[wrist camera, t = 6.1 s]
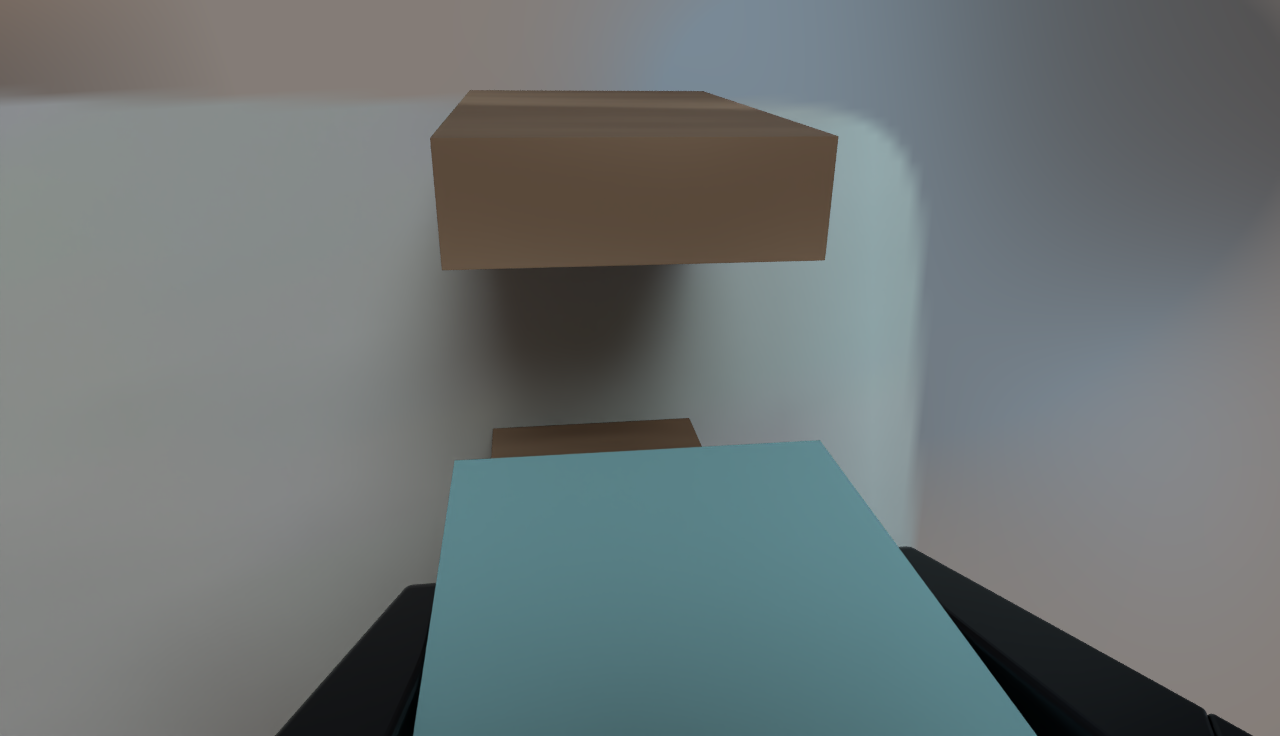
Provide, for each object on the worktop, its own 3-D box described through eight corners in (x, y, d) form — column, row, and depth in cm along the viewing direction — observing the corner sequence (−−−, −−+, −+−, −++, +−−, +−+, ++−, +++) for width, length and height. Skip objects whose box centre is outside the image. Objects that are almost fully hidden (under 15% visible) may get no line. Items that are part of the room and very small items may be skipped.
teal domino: (808, 535, 12) (1296, 1387, 4) (463, 560, 11) (350, 1623, 4) (820, 440, 11) (1413, 1246, 4) (455, 460, 10) (298, 1499, 3)
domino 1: (699, 165, 18) (824, 260, 10) (475, 168, 17) (441, 269, 10) (703, 91, 17) (838, 136, 10) (470, 90, 16) (430, 138, 9)
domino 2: (687, 471, 21) (777, 706, 14) (496, 483, 20) (484, 737, 13) (689, 418, 20) (784, 634, 13) (493, 428, 20) (478, 662, 12)
